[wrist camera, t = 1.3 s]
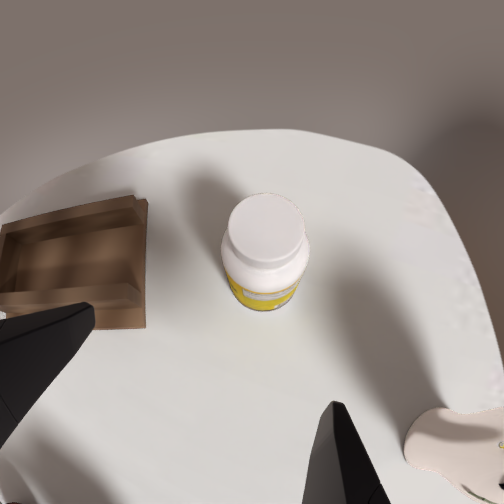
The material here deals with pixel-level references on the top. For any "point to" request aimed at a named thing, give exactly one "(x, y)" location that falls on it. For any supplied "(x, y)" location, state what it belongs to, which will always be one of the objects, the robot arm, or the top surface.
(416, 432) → the beer glass
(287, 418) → the top surface
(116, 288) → the walnut rail track
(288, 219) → the supplement bottle
